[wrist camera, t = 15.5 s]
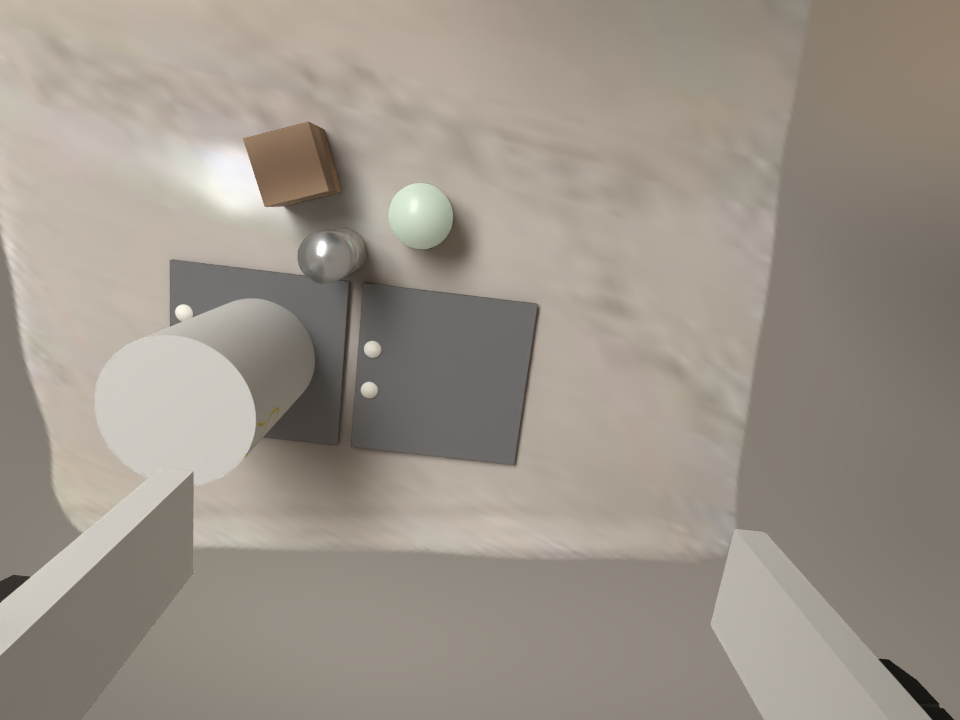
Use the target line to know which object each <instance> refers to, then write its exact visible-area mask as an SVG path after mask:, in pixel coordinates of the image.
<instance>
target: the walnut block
mask: <svg viewBox="0 0 960 720" xmlns="http://www.w3.org/2000/svg"><path fill="white" fill-rule="evenodd" d="M243 140H244V143H245V146H246V149H247V152H248V155H249V159H250V162H251V165H252V168H253V171H254V174H255V178H256V181H257V184H258V187H259V190H260V193H261V196H262V200H263V203H264V206H265V207H280V206H288V205H292V204H296V203H300V202H304V201H308V200H312V199H316V198H320V197H324V196H328V195H332V194H336V193H340V192H342V190H341V186H340V183H339V179H338V176H337V172H336V169H335V165H334V162H333V158H332V155H331V151H330V148H329V144H328V141H327V137H326V134H325V130H324V129H322V128H320V127H318V126H316V125H314V124H312V123H310V122H305V123H301V124H297V125H294V126H290V127H286V128H282V129H278V130H274V131H270V132H266V133H262V134H258V135H255V136H251V137H247V138H243Z"/></svg>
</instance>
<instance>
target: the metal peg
mask: <svg viewBox="0 0 960 720" xmlns="http://www.w3.org/2000/svg"><path fill="white" fill-rule="evenodd" d="M366 255H367V249H366V244H365V242H364V240H363V239H362V237H361V236H360V235H359V234H358V233H357V232H355V231H353V230H351V229H347V228H340V229H334V230H328V231H323V232H317V233H314V234H311V235H309V236H308V237H306V238H305V239H304V240H303V242H302V243H301V245H300V247H299V250H298V263H299V266H300V269H301V270H302V272H303V273H304V275H305V276H306V277H308V278H309V279H310V280H312V281H314V282H316V283H320V284H330V283H334V282H336V281H338V280H340V279H341V278H343V277H345V276H347V275H349V274H350V273H352V272H354V271H356V270H357V269H359V268H360V267H361V266H362V265H363V263H364V261H365V259H366Z"/></svg>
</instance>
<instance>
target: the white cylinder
mask: <svg viewBox="0 0 960 720" xmlns="http://www.w3.org/2000/svg"><path fill="white" fill-rule="evenodd" d="M314 367H315V352H314V347H313V343H312V340H311V338H310V335H309V333H308V332H307V330H306V328H305V327H304V325H303V324H302V323H301V321H300V320H299V319H298V318H297V317H296V316H295V315H294V314H292V313H291V312H290V311H289V310H287V309H286V308H284V307H282V306H280V305H278V304H276V303H274V302H271V301H267V300H263V299H254V298H249V299H240V300H236V301H233V302H230V303H227V304H225V305H223V306H220V307H218V308H215V309H213V310H210V311H208V312H205V313H203V314H200V315H198V316H195V317H193V318H190V319H188V320H185V321H183V322H180V323H178V324H175V325H173V326H170V327H168V328H165V329H163V330H161V331H158V332H156V333H153V334H151V335H148V336H146V337H143V338H141V339H138V340H136V341H133V342H131V343H129V344H127V345H126V346H124V347H123V348H121V349H120V350H118V351H117V352H116V353H115V354H114V355H113V356H112V357H111V358H110V359H109V360H108V362H107V363H106V364H105V366H104V367H103V369H102V371H101V373H100V375H99V377H98V380H97V383H96V387H95V393H94V411H95V417H96V421H97V424H98V427H99V430H100V432H101V434H102V436H103V438H104V440H105V442H106V443H107V445H108V446H109V448H110V449H111V450H112V452H113V453H114V454H115V455H116V456H117V457H118V458H119V459H120V460H121V461H122V462H123V463H124V464H125V465H126V466H128V467H129V468H130V469H132V470H133V471H135V472H136V473H138V474H140V475H141V476H143V477H145V478H149V477H150V476H151V475H153V474H154V473H155V472H156V471H157V470H159V469H160V468H169V469H179V470H188V471H194V486H197V485H203V484H206V483H210V482H213V481H215V480H217V479H219V478H221V477H223V476H225V475H226V474H228V473H229V472H231V471H232V470H233V469H234V468H235V467H236V466H237V465H238V464H239V463H240V462H241V461H242V460H243V459H244V458H245V457H246V455H247V454H248V453H249V452H250V451H251V450H252V449H253V448H254V447H255V446H256V444H257V443H258V442H259V441H260V440H261V439H262V438H263V437H264V436H265V434H266V433H267V432H268V431H269V430H270V429H271V428H272V427H273V426H274V424H275V423H276V422H277V421H278V420H279V419H280V418H281V417H282V416H283V414H284V413H285V412H286V411H287V410H288V409H289V408H290V407H291V406H292V404H293V403H294V402H295V401H296V400H297V399H298V398H299V397H300V396H301V395H302V393H303V392H304V391H305V390H306V388H307V387H308V385H309V383H310V381H311V379H312V376H313V372H314Z"/></svg>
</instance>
